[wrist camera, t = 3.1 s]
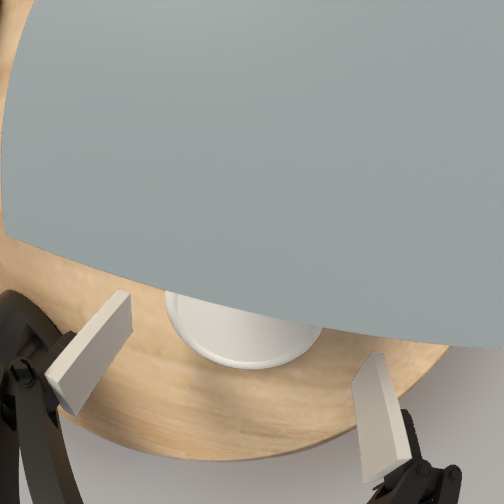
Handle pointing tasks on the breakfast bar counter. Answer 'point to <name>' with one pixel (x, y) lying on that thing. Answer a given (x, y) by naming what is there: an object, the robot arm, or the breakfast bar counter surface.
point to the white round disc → (238, 333)
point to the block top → (271, 156)
